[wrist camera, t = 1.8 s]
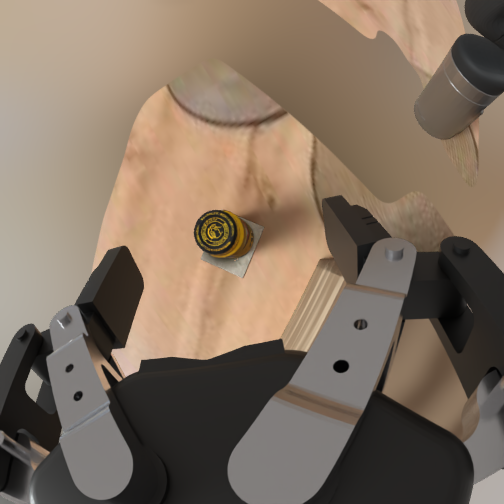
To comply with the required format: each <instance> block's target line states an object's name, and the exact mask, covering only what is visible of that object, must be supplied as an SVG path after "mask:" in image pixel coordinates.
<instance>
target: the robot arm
mask: <svg viewBox="0 0 504 504" xmlns="http://www.w3.org/2000/svg"><path fill="white" fill-rule="evenodd" d="M465 14H466V17H467V19H468V21H469V23H470V24H471V26H473V28H474V29H476V30H477V31H478V32H479V33H480V34H481V35H483V36H484V37H481V36H478V35H474V34H463V35H461V36H459V37H458V38H457V40H456V41H455V43H454V44H453V46H452V47H451V49H450V51H449V52H448V54H447V55H446V57H445V58H444V60H443V62H442V63H441V65H440V66H439V68H438V69H437V71H436V72H435V74H434V75H433V77H432V78H431V80H430V81H429V83H428V84H427V86H426V87H425V89H424V90H423V92H422V93H421V95H420V96H419V98H418V99H417V101H416V102H415V105H414V112H415V116H416V119H417V121H418V123H419V124H420V126H421V127H422V128H423V129H424V130H425V131H426V132H427V133H428V134H430V135H431V136H433V137H435V138H438V139H449V138H451V137H453V136H454V135H455V134H456V133H460V132H461V131H463V130H464V129H465V128H466V127H467V126H469V125H470V124H471V123H472V122H473V121H475V120H476V119H477V118H478V117H479V116H480V115H481V114H483V110H484V109H485V108H486V107H487V106H488V105H489V104H491V103H492V102H493V101H494V100H495V99H496V98H497V97H498V96H499V95H500V94H502V93H503V92H504V0H466V1H465ZM322 208H323V217H324V225H325V235H326V240H327V244H328V248H329V250H330V252H331V254H332V256H333V258H334V260H335V262H336V264H337V266H338V268H339V270H340V272H341V274H342V276H343V278H344V280H345V282H346V285H345V287H344V289H343V291H342V292H341V294H340V296H339V298H338V300H337V302H336V304H335V306H334V307H333V309H332V311H331V313H330V315H329V317H328V318H327V320H326V322H325V324H324V325H323V327H322V329H321V331H320V333H319V334H318V336H317V338H316V339H315V341H314V343H313V345H312V346H311V348H310V350H309V351H308V352H305V351H300V350H285V348H284V344H283V340H282V339H278V340H273V341H268V342H263V343H258V344H253V345H247V346H243V347H241V348H238V349H236V350H233V351H230V352H228V353H225V354H222V355H220V356H217V357H214V358H211V359H208V360H198V359H187V358H177V357H167V358H159V359H149V360H141V364H140V369H139V371H138V372H136V373H133V374H131V375H129V376H127V377H125V375H124V373H123V371H122V370H121V368H120V366H119V364H118V362H117V360H116V358H115V357H114V356H113V354H112V353H111V352H112V349H119V348H125V345H126V342H127V338H128V335H129V332H130V329H131V326H132V322H133V319H134V316H135V313H136V310H137V307H138V304H139V301H140V298H141V295H142V292H143V289H144V282H143V278H142V275H141V273H140V271H139V269H138V267H137V265H136V263H135V261H134V259H133V257H132V255H131V253H130V251H129V249H128V248H127V247H126V246H120V247H117V248H113V249H110V250H108V251H107V253H106V254H105V256H104V258H103V259H102V261H101V263H100V264H99V266H98V267H97V268H96V269H95V270H94V271H93V273H92V274H91V276H90V278H89V281H88V282H87V283H86V285H85V287H84V288H83V290H82V292H81V294H80V296H79V297H78V299H77V301H76V303H75V305H71V306H67V307H65V308H63V309H62V310H60V311H59V312H58V313H57V314H56V315H55V316H54V317H53V319H52V320H51V322H50V329H48V330H46V331H43V332H41V333H40V332H39V331H38V329H37V328H36V327H35V325H34V324H28V325H25V326H23V327H22V328H21V329H20V330H19V331H18V332H17V333H16V334H15V336H14V337H13V339H12V341H11V343H10V345H9V347H8V349H7V351H6V353H5V355H4V357H3V360H2V362H1V364H0V496H2V497H4V498H6V499H8V500H10V501H12V502H14V503H16V504H469V501H470V497H471V493H472V488H473V485H474V484H476V483H478V482H480V481H481V480H483V479H485V478H486V477H488V476H490V475H492V474H494V473H495V472H497V471H498V470H500V469H504V274H503V273H502V271H501V270H500V269H499V268H498V267H497V266H496V264H495V263H494V262H493V261H492V260H491V259H490V258H489V257H488V256H487V255H486V254H485V253H484V252H483V250H482V249H481V248H480V247H478V245H477V244H476V243H474V242H473V241H471V240H469V239H467V238H463V237H457V236H454V237H448V238H446V239H444V240H443V241H442V242H441V246H440V252H417V251H416V248H415V246H414V245H413V244H412V243H410V242H409V241H406V240H404V239H400V238H392V237H391V236H390V234H389V233H388V232H387V231H386V230H385V229H384V228H383V227H382V225H381V224H380V223H378V221H377V220H376V219H375V218H374V217H373V215H372V214H371V213H370V212H369V211H368V210H367V209H365V208H363V207H361V206H358V205H353V206H350V204H349V203H348V202H347V201H346V200H345V199H344V198H343V196H342V195H339V196H334V197H329V198H324V199H322ZM467 304H468V306H469V307H470V308H471V310H472V312H471V310H470V309H469V307H468V306H467ZM410 319H429V320H430V322H431V324H432V326H433V327H434V329H435V331H436V333H437V335H438V337H439V339H440V341H441V343H442V345H443V347H444V349H445V350H446V352H447V355H448V357H449V359H450V361H451V363H452V365H453V367H454V369H455V371H456V373H457V375H458V378H459V380H460V382H461V384H462V387H463V389H464V391H465V393H466V396H467V398H468V400H467V402H466V403H465V405H464V407H463V410H462V415H461V418H462V425H463V437H462V440H460V439H459V438H458V437H457V436H456V435H455V434H453V433H452V432H450V431H448V430H446V429H444V428H443V427H441V426H439V425H437V424H435V423H433V422H432V421H430V420H428V419H426V418H425V417H423V416H421V415H419V414H417V413H416V412H414V411H412V410H410V409H409V408H407V407H405V406H403V405H402V404H400V403H398V402H397V401H395V400H393V399H392V398H390V397H388V396H386V395H385V394H383V391H384V389H385V386H386V383H387V380H388V377H389V374H390V371H391V368H392V364H393V361H394V358H395V355H396V352H397V349H398V346H399V343H400V340H401V336H402V333H403V329H404V326H405V322H406V320H410ZM30 369H32V370H33V371H34V372H35V373H36V374H37V375H38V376H39V377H40V378H41V379H42V380H43V383H42V386H41V389H40V391H39V395H38V398H37V401H36V403H35V402H34V401H33V400H32V399H31V398H30V397H29V396H28V395H27V393H26V391H25V383H26V380H27V378H28V375H29V372H30ZM62 428H63V434H62V435H61V436H60V433H61V429H62ZM59 438H60V443H59ZM58 443H59V444H58Z"/></svg>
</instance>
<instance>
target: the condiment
mask: <svg viewBox="0 0 504 504" xmlns="http://www.w3.org/2000/svg"><path fill="white" fill-rule="evenodd" d="M263 229H264V227H263V226H261V225H258V224H256V223H253V222H251V221H248V220H246V219H244V218H241V217H239V216H237V215H235V214H233V213H231V212H229V211H225V210H212V211H209V212H206V213H204V214H203V215H202V216H201V217H200V218H199V219H198V220H197V222H196V225H195V228H194V237H195V241H196V243H197V245H198V246H199V247H200V248H201V249H202V250H203V251H204V252H203V255H202V257H201V260H203V261H206V262H208V263H210V264H212V265H215V266H217V267H219V268H221V269H223V270H226V271H228V272H230V273H232V274H235V275H237V276H239V277H241V278H243V276H244V274H245V271H246V269H247V267H248V264H249V262H250V259H251V257H252V255H253V253H254V250H255V248H256V246H257V243H258V241H259V239H260V236H261V234H262V232H263ZM237 258H238V260H236V259H237ZM234 260H236V261H234Z"/></svg>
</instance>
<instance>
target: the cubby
mask: <svg viewBox="0 0 504 504" xmlns="http://www.w3.org/2000/svg"><path fill="white" fill-rule="evenodd" d="M345 285H346V282H345V280H344V278H343V276H342V274H341V272H340V270H339V268H338V266H337V264H336V262H335V260H331V259H320V261H319V263H318V265H317V267H316V269H315V271H314V273H313V275H312V277H311V279H310V281H309V283H308V285H307V287H306V289H305V291H304V293H303V295H302V297H301V299H300V301H299V303H298V305H297V307H296V309H295V311H294V313H293V315H292V317H291V319H290V321H289V323H288V325H287V327H286V329H285V330H284V332H283V334H282V336H281V338H280V339H282V340H283V344H284V348H285V350H300V351H305V352H308V351H309V350H310V348H311V346H312V345H313V343H314V341H315V339H316V338H317V336H318V334H319V333H320V331H321V329H322V327H323V325H324V324H325V322H326V320H327V318H328V317H329V315H330V313H331V311H332V309H333V307H334V306H335V304H336V302H337V300H338V298H339V296H340V294H341V292H342V291H343V289H344V287H345ZM383 394H385V395H386V396H388V397H390V398H392V399H393V400H395V401H397V402H398V403H400V404H402V405H403V406H405V407H407V408H409V409H410V410H412V411H414V412H416V413H417V414H419V415H421V416H423V417H425V418H426V419H428V420H430V421H432V422H433V423H435V424H437V425H439V426H441V427H443V428H444V429H446V430H448V431H450V432H452V433H453V434H455V435H456V436H457V437H458V438H459V439H460V440H462V437H463V425H462V418H461V415H462V410H463V407H464V405H465V403H466V402H467V400H468V398H467V396H466V393H465V391H464V389H463V387H462V384H461V382H460V380H459V378H458V375H457V373H456V371H455V369H454V367H453V365H452V363H451V361H450V359H449V357H448V355H447V352H446V350H445V349H444V347H443V345H442V343H441V341H440V339H439V337H438V335H437V333H436V331H435V329H434V327H433V326H432V324H431V322H430V320H429V319H410V320H406V322H405V326H404V329H403V333H402V336H401V340H400V343H399V346H398V349H397V352H396V355H395V358H394V361H393V364H392V368H391V371H390V374H389V377H388V380H387V383H386V386H385V389H384V391H383Z"/></svg>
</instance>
